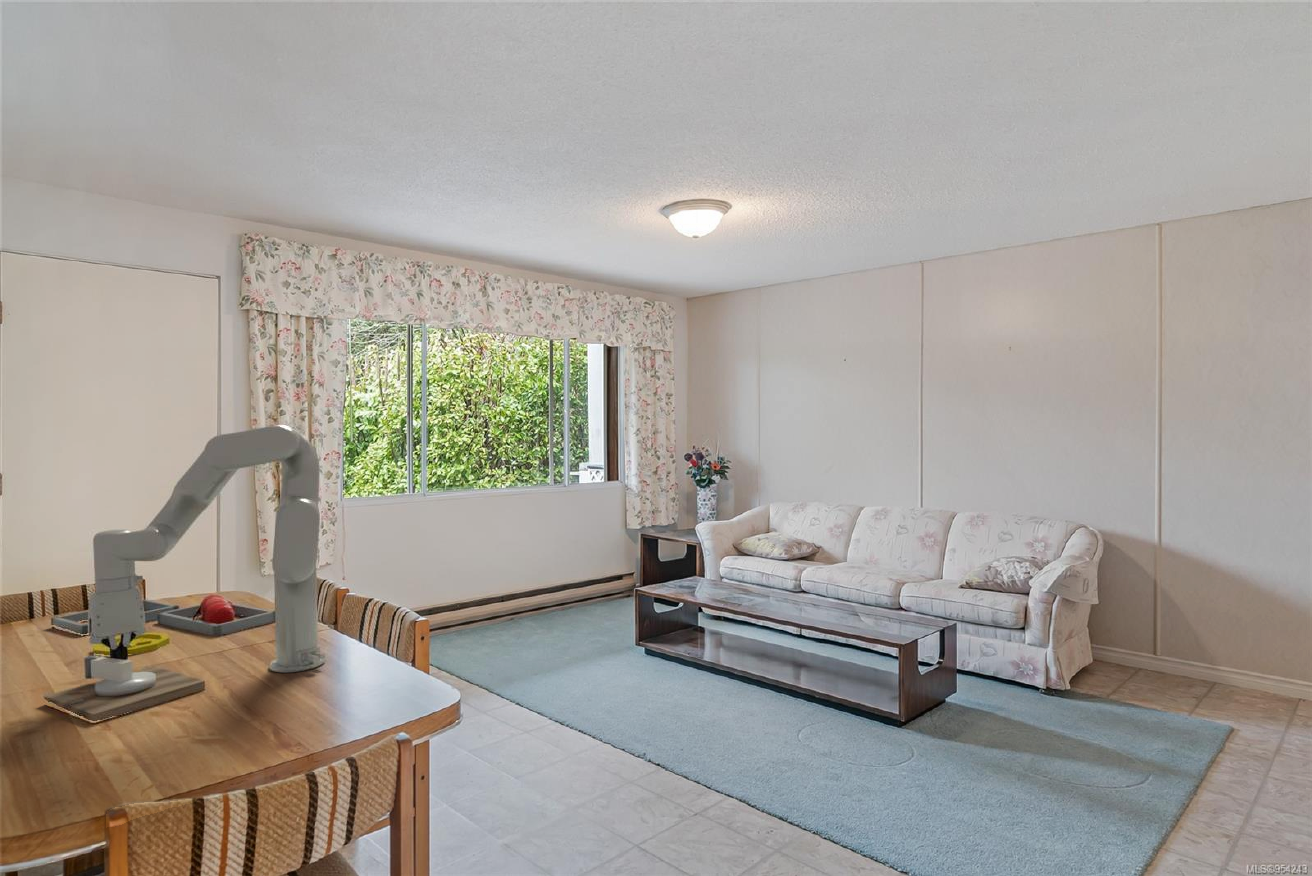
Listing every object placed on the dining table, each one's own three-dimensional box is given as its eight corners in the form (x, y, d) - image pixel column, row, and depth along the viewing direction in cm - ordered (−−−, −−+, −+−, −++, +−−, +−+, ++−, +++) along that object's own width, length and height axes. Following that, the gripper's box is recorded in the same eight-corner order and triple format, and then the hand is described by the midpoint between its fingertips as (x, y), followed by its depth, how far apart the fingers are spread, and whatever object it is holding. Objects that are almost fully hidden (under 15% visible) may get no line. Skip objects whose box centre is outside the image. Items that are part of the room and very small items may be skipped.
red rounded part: (188, 613, 214) (182, 597, 235) (194, 640, 215) (188, 622, 236) (235, 600, 221) (225, 586, 242) (241, 626, 222) (231, 609, 243)
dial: (167, 681, 170) (166, 656, 170) (118, 698, 159) (117, 671, 159) (113, 674, 176) (112, 649, 175) (62, 690, 165) (61, 664, 165)
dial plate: (204, 689, 170) (204, 680, 170) (93, 724, 151) (93, 713, 151) (154, 674, 182) (153, 665, 181) (44, 705, 162) (43, 694, 162)
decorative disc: (103, 644, 209) (103, 637, 209) (176, 636, 215) (176, 630, 215) (81, 662, 193) (81, 654, 193) (161, 653, 200) (161, 646, 200)
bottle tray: (277, 621, 229) (277, 611, 229) (216, 636, 213) (216, 626, 213) (218, 609, 245) (218, 600, 245) (157, 623, 229) (157, 613, 229)
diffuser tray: (179, 615, 239) (178, 605, 239) (82, 636, 216) (81, 626, 216) (147, 608, 249) (146, 599, 249) (51, 627, 226) (51, 618, 226)
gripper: (147, 576, 179) (151, 653, 179) (70, 589, 167) (74, 670, 168) (159, 580, 174) (162, 658, 175) (80, 593, 163) (84, 677, 163)
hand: (119, 664), depth 171 cm, fingers closed
